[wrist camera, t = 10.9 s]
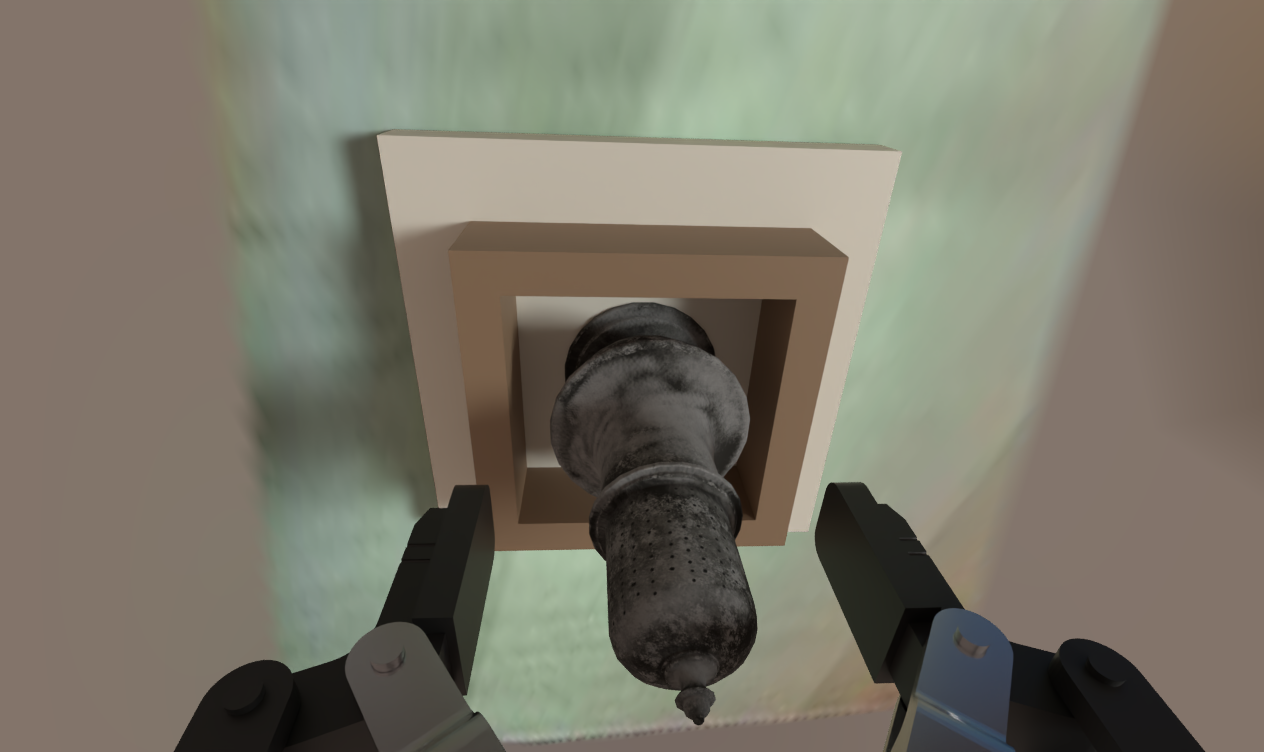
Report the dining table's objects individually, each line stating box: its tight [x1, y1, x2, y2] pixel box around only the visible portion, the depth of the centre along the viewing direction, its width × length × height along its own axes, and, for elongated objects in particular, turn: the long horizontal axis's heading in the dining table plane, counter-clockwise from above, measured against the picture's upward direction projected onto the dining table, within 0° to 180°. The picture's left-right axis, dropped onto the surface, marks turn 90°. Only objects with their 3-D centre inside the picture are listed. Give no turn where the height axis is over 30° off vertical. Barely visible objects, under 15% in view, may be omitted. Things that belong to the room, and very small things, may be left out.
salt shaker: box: [550, 302, 757, 725], centre depth 15 cm, size 6×6×12 cm
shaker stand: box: [377, 129, 902, 551], centre depth 19 cm, size 15×15×4 cm
